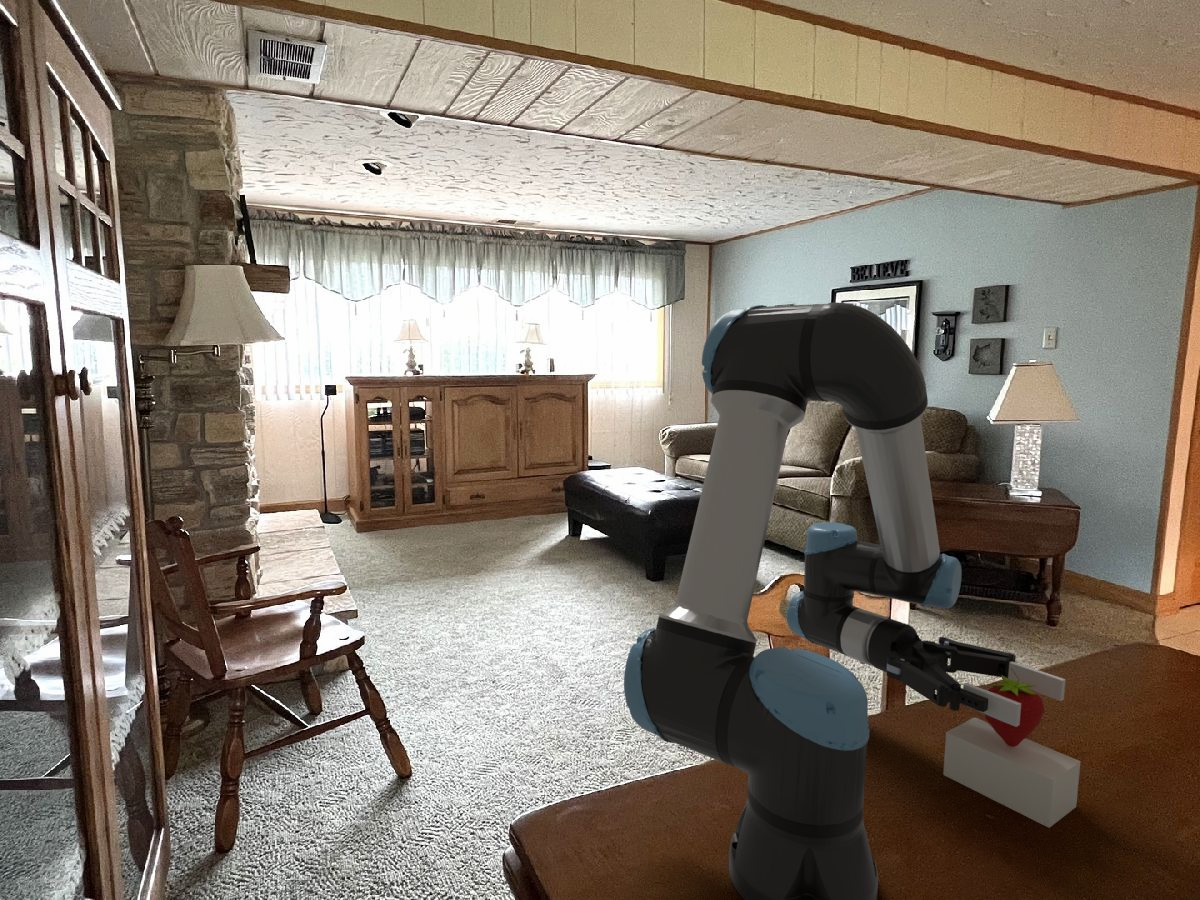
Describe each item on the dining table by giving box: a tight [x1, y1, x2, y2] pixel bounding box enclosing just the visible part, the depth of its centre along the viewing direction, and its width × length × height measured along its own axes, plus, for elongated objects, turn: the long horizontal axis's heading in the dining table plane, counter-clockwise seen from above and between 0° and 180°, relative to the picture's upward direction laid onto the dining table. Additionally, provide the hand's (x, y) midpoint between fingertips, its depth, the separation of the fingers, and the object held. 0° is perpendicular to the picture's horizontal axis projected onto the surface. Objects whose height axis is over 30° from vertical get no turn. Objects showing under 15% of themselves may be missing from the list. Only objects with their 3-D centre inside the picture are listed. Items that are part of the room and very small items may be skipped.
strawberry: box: [984, 668, 1045, 747], centre depth 90 cm, size 6×8×10 cm
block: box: [943, 717, 1081, 828], centre depth 91 cm, size 7×13×6 cm, turn 34°
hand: (1041, 702), depth 87 cm, fingers open, 10 cm apart
